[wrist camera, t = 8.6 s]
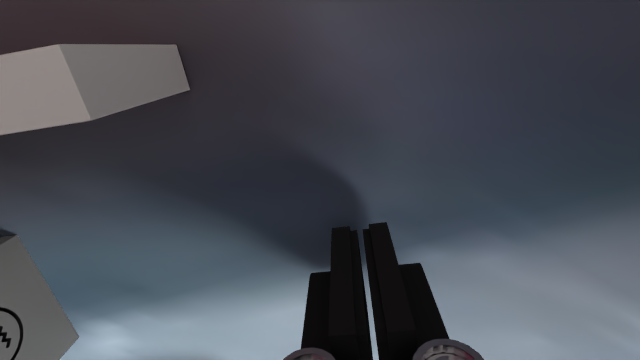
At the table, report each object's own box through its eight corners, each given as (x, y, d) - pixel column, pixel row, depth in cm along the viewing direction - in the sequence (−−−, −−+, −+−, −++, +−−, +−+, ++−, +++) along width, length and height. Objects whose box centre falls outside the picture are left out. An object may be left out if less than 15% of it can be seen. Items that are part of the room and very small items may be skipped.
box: (176, 44, 9) (57, 44, 5) (285, 403, 14) (269, 527, 11) (-246, 120, 10) (-583, 164, 6) (7, 420, 16) (-93, 536, 12)
